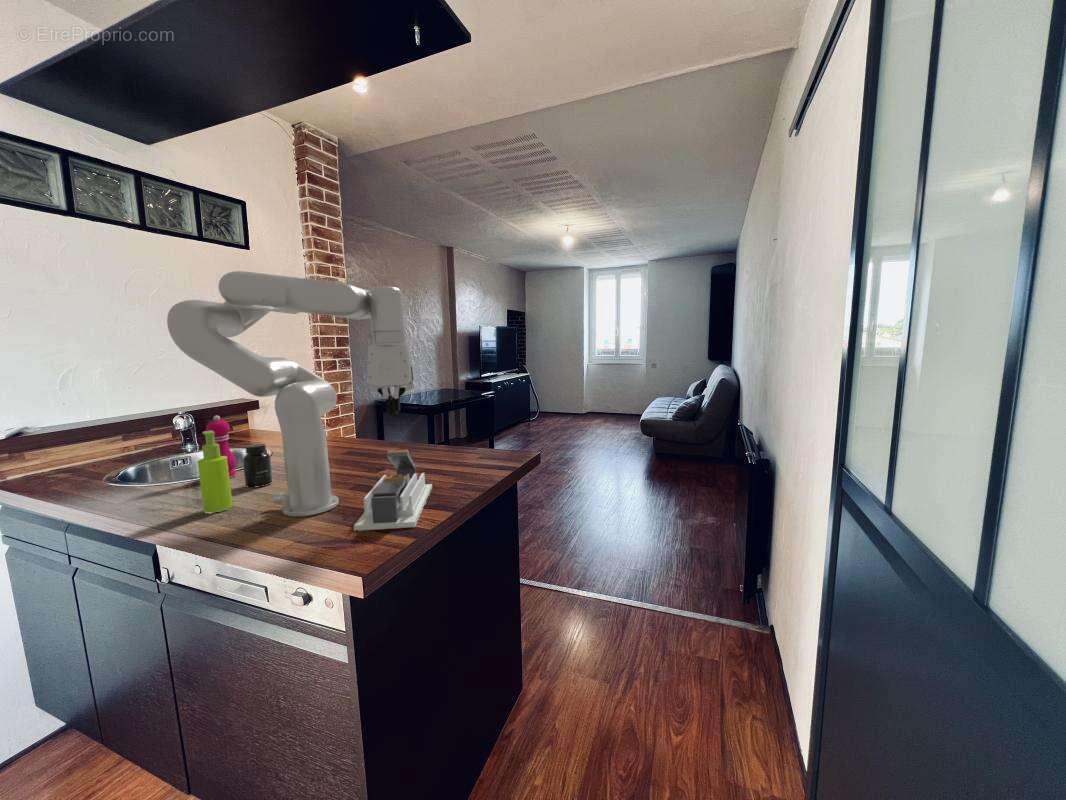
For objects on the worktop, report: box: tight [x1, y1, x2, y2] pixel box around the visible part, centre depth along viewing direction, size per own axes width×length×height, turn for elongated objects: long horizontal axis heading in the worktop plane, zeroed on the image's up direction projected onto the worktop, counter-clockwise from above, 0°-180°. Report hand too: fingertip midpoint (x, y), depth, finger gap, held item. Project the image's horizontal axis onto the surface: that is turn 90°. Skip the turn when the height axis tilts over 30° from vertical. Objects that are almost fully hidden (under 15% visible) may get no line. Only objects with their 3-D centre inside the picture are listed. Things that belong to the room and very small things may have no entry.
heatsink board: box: [353, 465, 433, 532], centre depth 105 cm, size 13×26×7 cm, turn 5°
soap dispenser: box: [197, 430, 234, 512], centre depth 106 cm, size 6×7×20 cm
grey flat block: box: [373, 475, 406, 497], centre depth 99 cm, size 5×10×2 cm, turn 5°
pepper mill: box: [205, 415, 237, 477], centre depth 134 cm, size 7×7×20 cm
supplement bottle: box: [242, 443, 273, 488], centre depth 126 cm, size 7×7×12 cm
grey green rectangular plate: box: [386, 449, 416, 470], centre depth 111 cm, size 5×10×2 cm
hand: (393, 414), depth 105 cm, fingers closed
